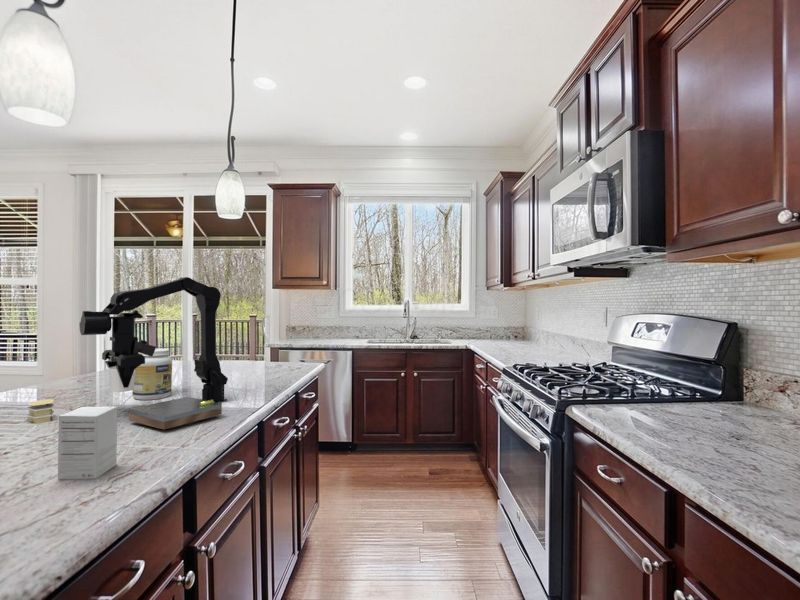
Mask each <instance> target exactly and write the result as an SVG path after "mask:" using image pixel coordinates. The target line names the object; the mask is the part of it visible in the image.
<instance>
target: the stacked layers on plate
mask: <svg viewBox="0 0 800 600" xmlns="http://www.w3.org/2000/svg"><path fill="white" fill-rule="evenodd" d="M54 401H55V400H54V399H53V398H49V399H48V398H45V399H40V400H35V401H34V400H33V401H30V402H27V404H28V405H31V406H27V410H28V414H27V417H28V422H29V423H31V422H33V423H34V424H41V423H47V422H49V423H50V422H51V417H52V416H53V415H54V412H55V411H54V410H53V407H54V405H55V404H54Z"/></svg>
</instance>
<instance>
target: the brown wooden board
mask: <svg viewBox="0 0 800 600" xmlns="http://www.w3.org/2000/svg"><path fill="white" fill-rule="evenodd" d="M222 409H223V407H222V408H218V409H214V410H210V411H206V412H202V413H198V414H194V415H190V416H186V417H182V418H178V419H174V420H170V421H166V422H162V421H158V420H154V419H150V418H147V417H143V416H139V415H135V414H131V413H129V412H128V413H129V415H128V417H129V418H128V421H130V422H134V423H137V424H138V425H139V426H149V427H153V428H156V429H161V430H168V429H170V428H171V429H172V428H175V427H179V426H189V425H194V424H195V423H196V422H197V421H201V420H206V419H209V418H213V417H216V416H220V415H222V412H223V410H222Z"/></svg>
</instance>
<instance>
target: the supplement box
mask: <svg viewBox="0 0 800 600" xmlns="http://www.w3.org/2000/svg"><path fill="white" fill-rule="evenodd" d="M117 439H118V406H81V407H78V408H76V409H73V410H71V411H68V412H66V413H63V414H61V415H58V441H57V442H58V443H57V444H58V445H57V448H58V449H57V450H58V451H57V455H58V456H57V460H58V461H57V479H58V480H95V479H98V478H99V477H100V476H102V475H104V474H105V473H106V472H108V471H110V470H111V469H112V468H114V467H115V466H117V464H118V463H117V459H118V458H117V457H118V455H117V453H118V449H117V447H118V440H117Z"/></svg>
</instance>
